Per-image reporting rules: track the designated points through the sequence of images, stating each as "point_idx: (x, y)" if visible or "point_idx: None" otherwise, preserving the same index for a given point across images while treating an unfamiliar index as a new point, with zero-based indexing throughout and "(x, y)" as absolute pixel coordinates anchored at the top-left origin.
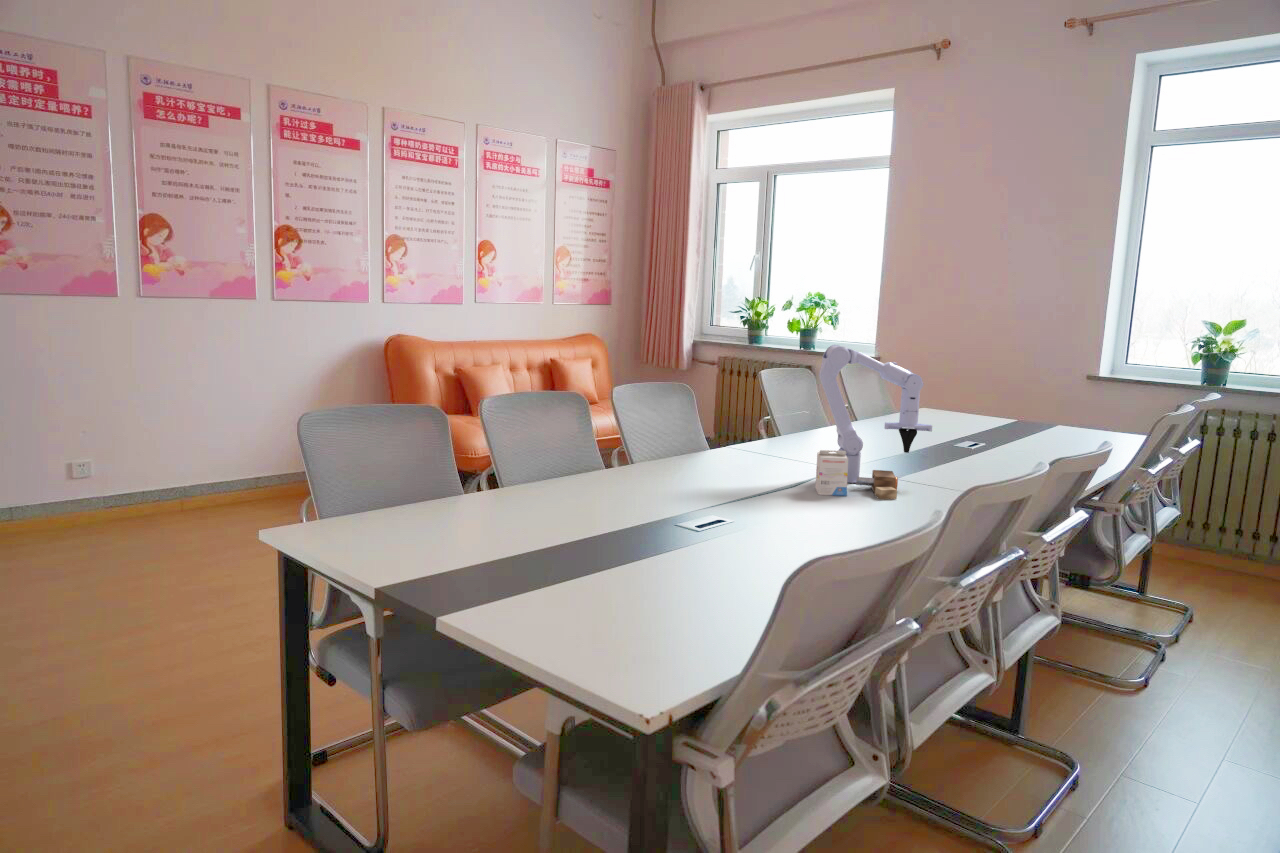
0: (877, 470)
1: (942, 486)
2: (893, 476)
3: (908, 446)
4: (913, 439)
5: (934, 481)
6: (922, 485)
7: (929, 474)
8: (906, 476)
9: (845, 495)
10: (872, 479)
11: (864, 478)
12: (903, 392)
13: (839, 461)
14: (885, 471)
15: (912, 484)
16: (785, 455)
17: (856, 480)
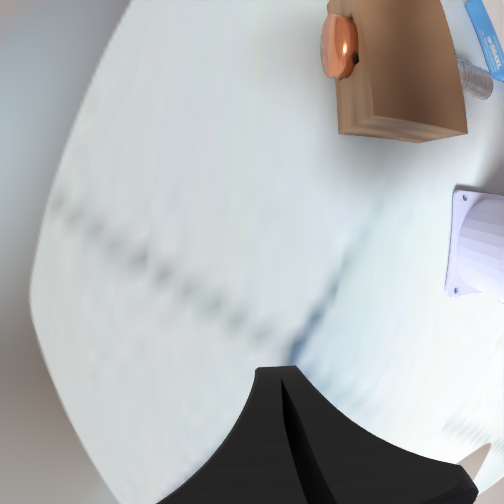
0: (448, 120)
1: (87, 254)
2: None
3: (270, 398)
4: (209, 459)
5: (120, 350)
6: (172, 246)
7: (149, 451)
8: (235, 411)
9: (467, 3)
10: None
11: (468, 65)
12: None
13: None
14: (411, 95)
15: (221, 254)
16: (487, 469)
17: (483, 97)
